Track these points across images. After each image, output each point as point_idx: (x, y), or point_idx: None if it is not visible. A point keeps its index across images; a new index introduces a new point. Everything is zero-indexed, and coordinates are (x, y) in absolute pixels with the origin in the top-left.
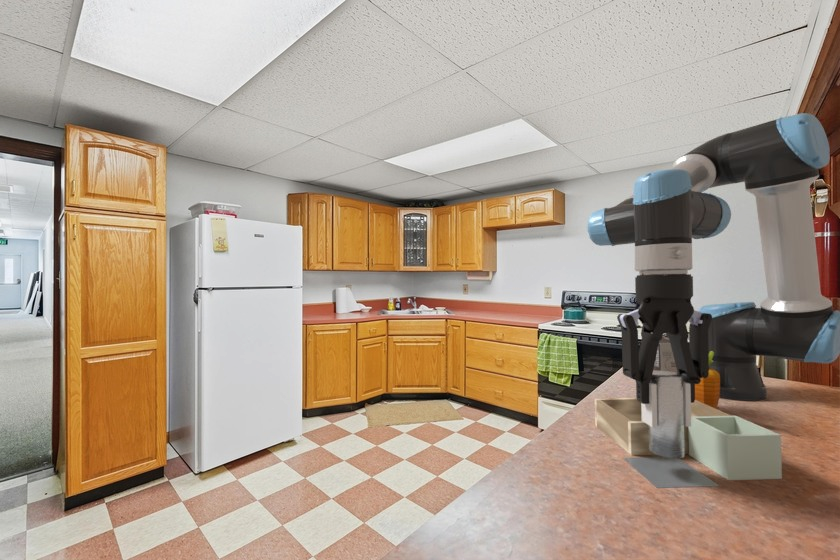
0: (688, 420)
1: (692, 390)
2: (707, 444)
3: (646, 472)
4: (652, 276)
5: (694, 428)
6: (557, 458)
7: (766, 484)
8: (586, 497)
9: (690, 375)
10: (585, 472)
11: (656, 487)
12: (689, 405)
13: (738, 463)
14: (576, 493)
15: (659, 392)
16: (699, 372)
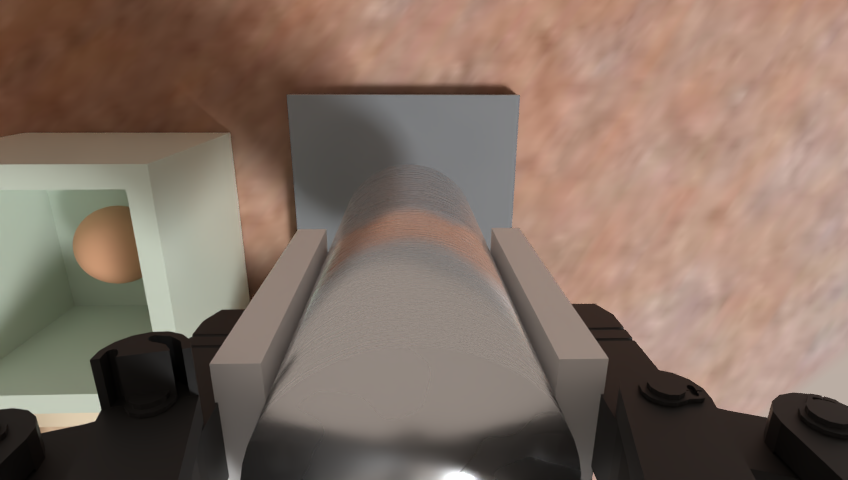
0: (307, 239)
1: (194, 358)
2: (205, 258)
3: (488, 200)
4: None
5: None
6: (716, 330)
7: (92, 123)
8: (775, 74)
9: (163, 428)
10: (678, 234)
11: (519, 98)
12: (277, 275)
13: (155, 143)
14: (793, 101)
15: (516, 316)
16: (19, 470)
